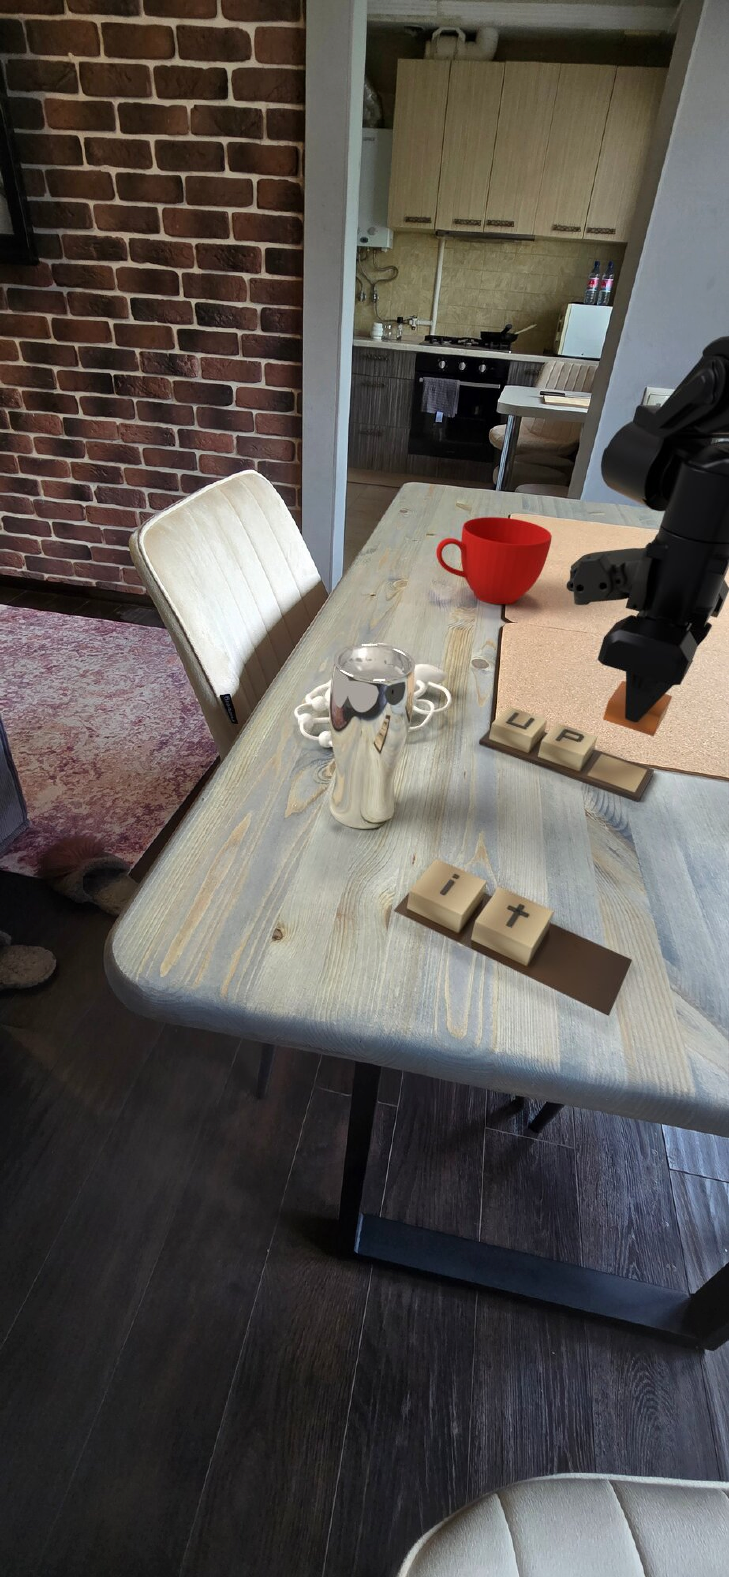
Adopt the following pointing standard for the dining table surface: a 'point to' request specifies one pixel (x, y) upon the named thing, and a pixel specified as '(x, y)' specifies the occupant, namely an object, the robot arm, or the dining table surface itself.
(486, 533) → the ceramic cup
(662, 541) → the robot arm
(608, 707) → the s tile
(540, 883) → the dining table surface
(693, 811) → the dining table surface
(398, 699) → the beer glass
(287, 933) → the dining table surface
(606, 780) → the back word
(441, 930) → the front word
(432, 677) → the tangled rod sculpture
